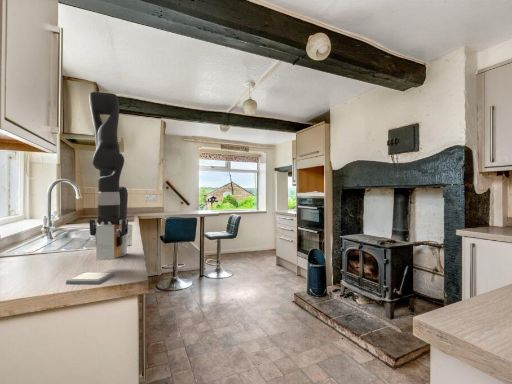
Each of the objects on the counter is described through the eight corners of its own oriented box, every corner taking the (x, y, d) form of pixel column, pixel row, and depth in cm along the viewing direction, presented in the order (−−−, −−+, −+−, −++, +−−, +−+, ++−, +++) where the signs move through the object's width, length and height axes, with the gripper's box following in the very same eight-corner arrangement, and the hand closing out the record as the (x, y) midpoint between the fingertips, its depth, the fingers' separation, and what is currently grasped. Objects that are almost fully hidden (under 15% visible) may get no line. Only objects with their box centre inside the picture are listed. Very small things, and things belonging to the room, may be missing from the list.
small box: (114, 260, 96) (114, 225, 96) (95, 261, 95) (95, 225, 95) (121, 254, 104) (121, 222, 104) (104, 255, 103) (103, 222, 103)
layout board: (84, 274, 94) (84, 271, 94) (114, 275, 94) (114, 272, 94) (66, 283, 85) (66, 279, 85) (98, 283, 85) (98, 280, 85)
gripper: (132, 203, 103) (132, 244, 103) (96, 203, 103) (96, 244, 103) (122, 204, 95) (122, 248, 96) (83, 204, 95) (84, 248, 96)
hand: (109, 246), depth 99 cm, fingers closed on small box, 7 cm apart
